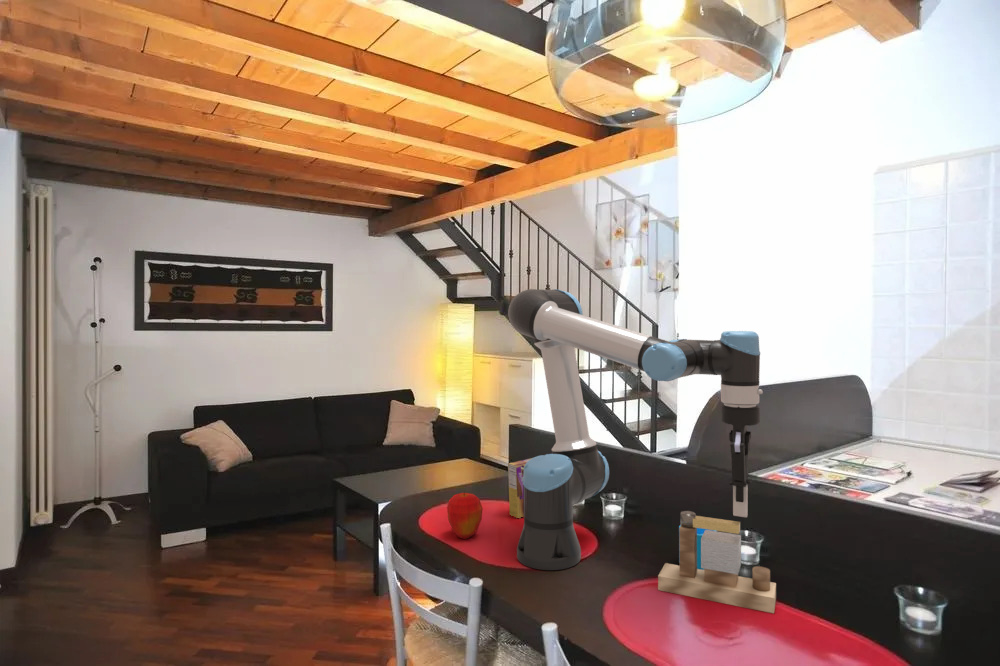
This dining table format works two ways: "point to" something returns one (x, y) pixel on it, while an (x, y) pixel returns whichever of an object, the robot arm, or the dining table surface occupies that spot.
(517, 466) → the candy box
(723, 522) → the lever
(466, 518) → the apple
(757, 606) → the wooden base with post
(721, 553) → the gray rectangular block
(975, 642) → the dining table surface
